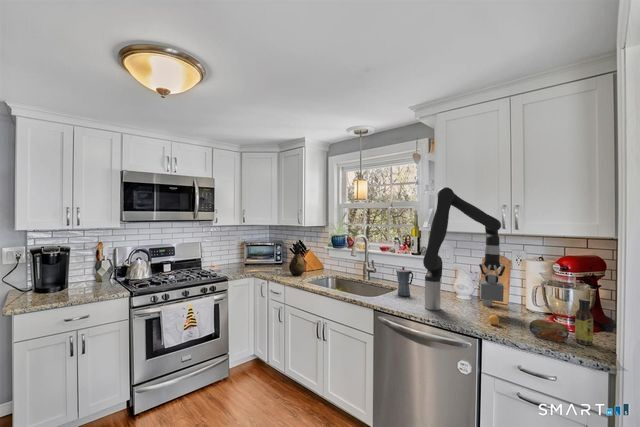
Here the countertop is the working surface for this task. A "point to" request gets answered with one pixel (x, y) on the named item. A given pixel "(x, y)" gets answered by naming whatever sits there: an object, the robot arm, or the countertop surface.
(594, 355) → the countertop surface
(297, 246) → the pineapple
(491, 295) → the stacked grey blocks
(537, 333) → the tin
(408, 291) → the moka pot
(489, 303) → the house plant
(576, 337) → the sauce bottle
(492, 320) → the ball
